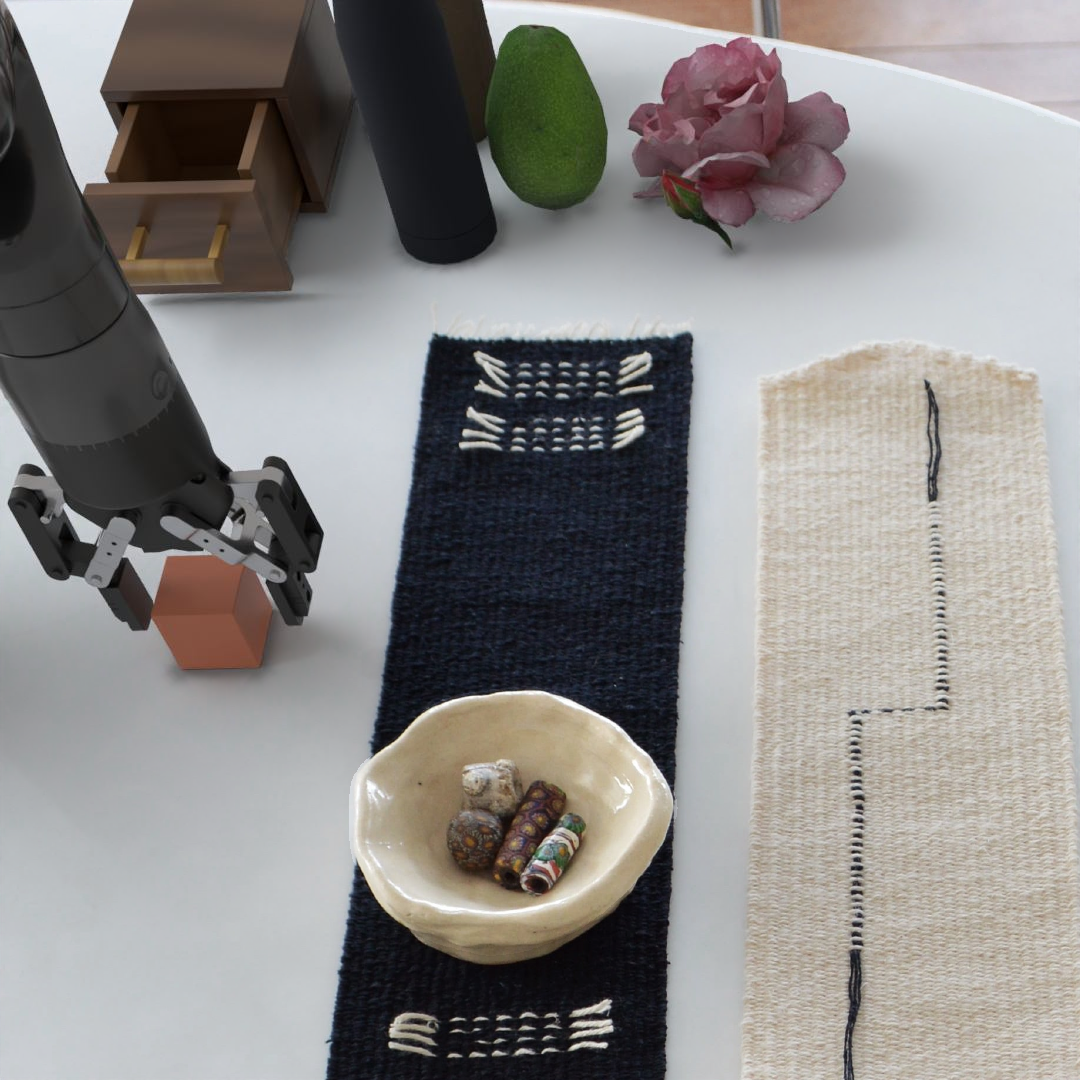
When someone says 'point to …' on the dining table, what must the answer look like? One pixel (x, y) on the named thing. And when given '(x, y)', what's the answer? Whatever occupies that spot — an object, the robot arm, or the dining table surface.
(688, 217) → the flower
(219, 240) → the drawer
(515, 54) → the fruit
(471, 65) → the pillar candle
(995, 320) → the dining table surface
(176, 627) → the block
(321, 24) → the cabinet
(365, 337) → the dining table surface
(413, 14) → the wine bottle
